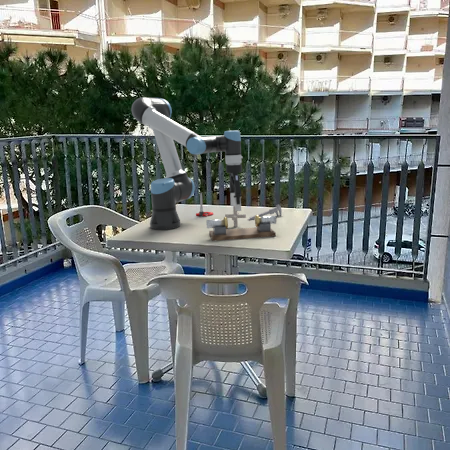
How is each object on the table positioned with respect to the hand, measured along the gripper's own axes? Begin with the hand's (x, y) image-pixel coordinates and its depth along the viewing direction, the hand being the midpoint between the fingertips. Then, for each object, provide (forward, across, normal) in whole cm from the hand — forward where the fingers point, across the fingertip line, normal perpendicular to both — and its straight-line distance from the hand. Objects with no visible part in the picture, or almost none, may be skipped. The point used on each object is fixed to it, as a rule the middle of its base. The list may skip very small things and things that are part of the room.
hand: (235, 208), depth 204 cm
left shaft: (+7, -17, +11) cm, 22 cm away
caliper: (+10, +15, -18) cm, 25 cm away
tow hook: (+9, +32, +12) cm, 36 cm away
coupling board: (+9, -17, 0) cm, 19 cm away
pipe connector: (+9, 0, 0) cm, 9 cm away
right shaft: (+8, -17, -11) cm, 21 cm away
